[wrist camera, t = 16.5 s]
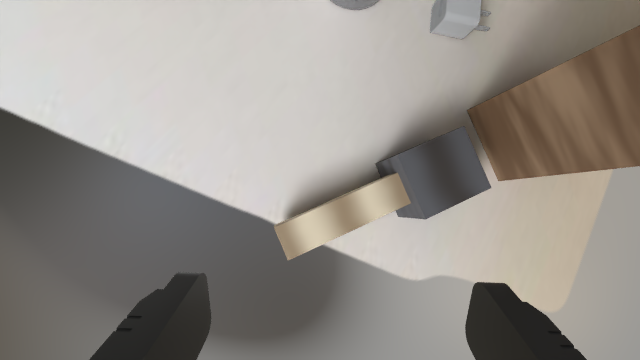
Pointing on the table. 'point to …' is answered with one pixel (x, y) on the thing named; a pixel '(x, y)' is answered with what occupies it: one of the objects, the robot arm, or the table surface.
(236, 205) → the table surface
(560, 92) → the wooden block
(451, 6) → the usb wall charger
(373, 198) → the mallet
